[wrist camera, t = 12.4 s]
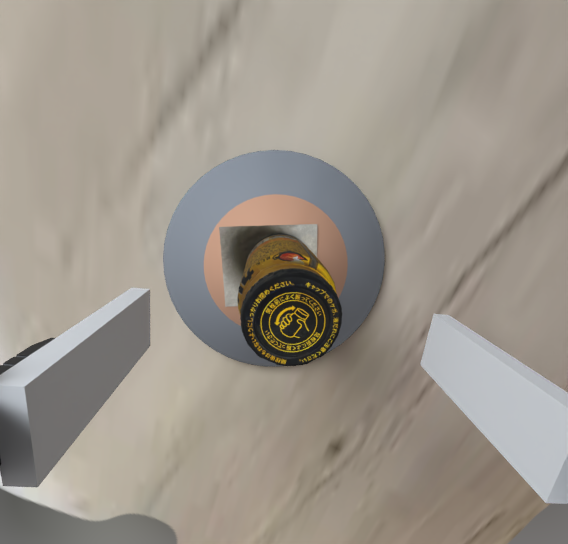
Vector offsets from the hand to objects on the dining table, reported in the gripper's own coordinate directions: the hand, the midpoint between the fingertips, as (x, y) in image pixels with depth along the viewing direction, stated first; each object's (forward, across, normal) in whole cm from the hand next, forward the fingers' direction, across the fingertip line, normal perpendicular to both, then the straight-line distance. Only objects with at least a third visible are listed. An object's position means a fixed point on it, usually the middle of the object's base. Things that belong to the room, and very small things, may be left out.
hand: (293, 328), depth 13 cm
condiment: (+13, -1, 0) cm, 13 cm away
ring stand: (+14, 0, 0) cm, 14 cm away
